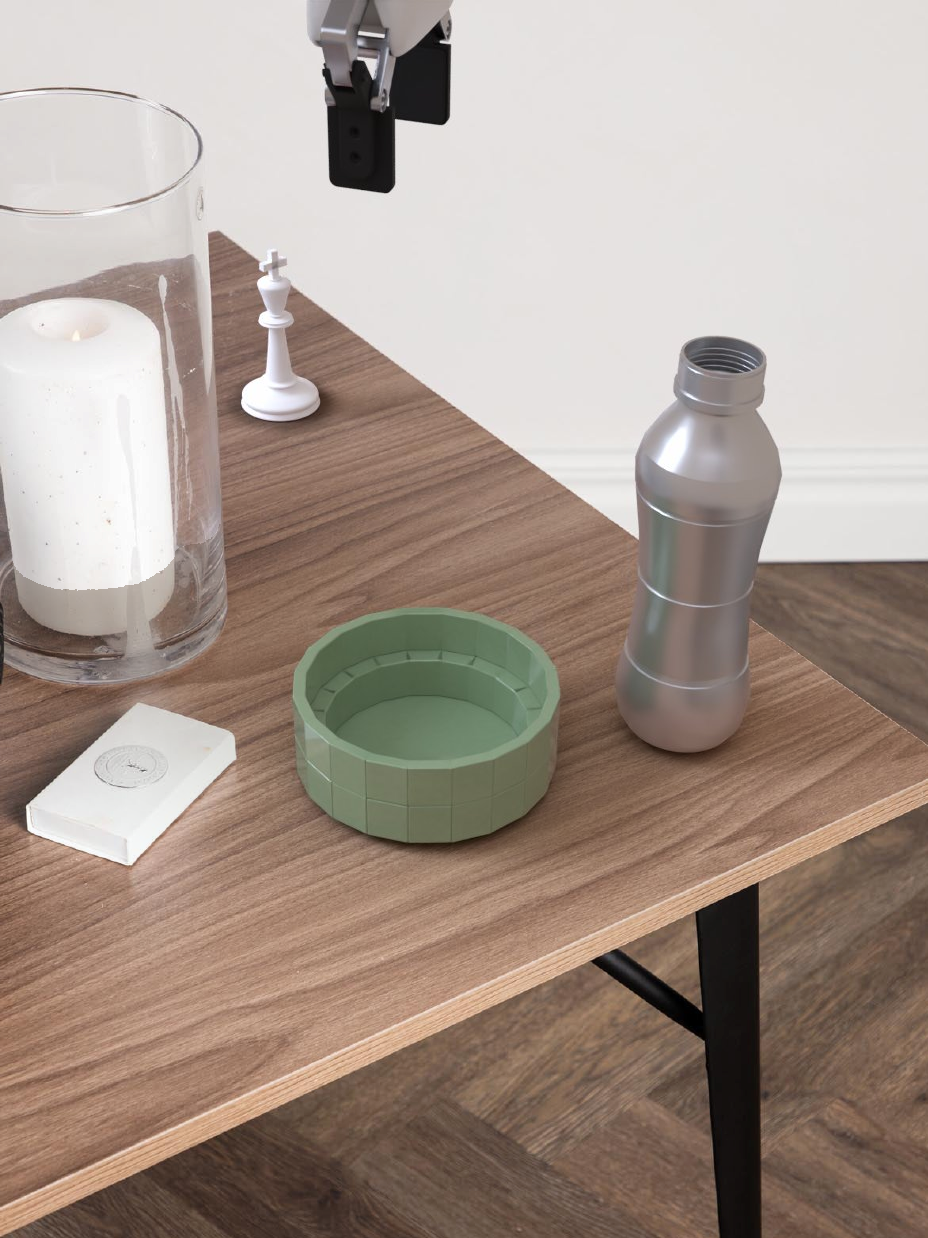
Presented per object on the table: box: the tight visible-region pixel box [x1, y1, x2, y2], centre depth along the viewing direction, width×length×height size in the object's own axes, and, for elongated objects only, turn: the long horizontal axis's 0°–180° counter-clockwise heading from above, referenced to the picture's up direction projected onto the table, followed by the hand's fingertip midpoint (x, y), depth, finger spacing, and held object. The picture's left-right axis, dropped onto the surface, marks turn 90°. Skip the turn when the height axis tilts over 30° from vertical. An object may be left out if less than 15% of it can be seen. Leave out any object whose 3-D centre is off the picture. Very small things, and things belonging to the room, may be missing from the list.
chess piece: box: [240, 247, 321, 422], centre depth 105 cm, size 5×5×10 cm
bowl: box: [292, 606, 562, 844], centre depth 80 cm, size 12×12×5 cm
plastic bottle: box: [614, 335, 783, 754], centre depth 78 cm, size 6×7×20 cm
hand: (392, 152), depth 87 cm, fingers open, 9 cm apart
